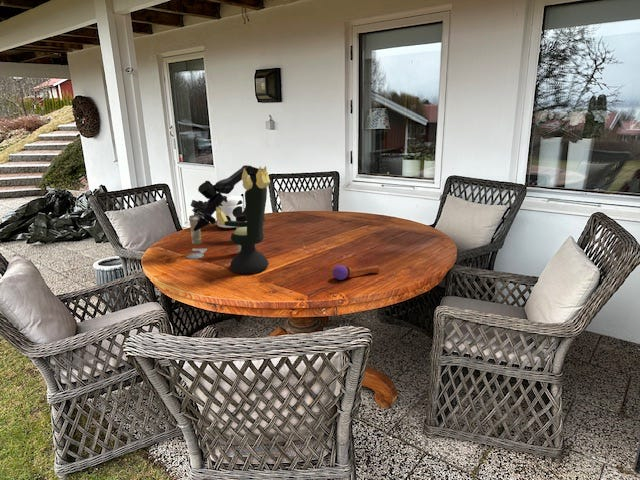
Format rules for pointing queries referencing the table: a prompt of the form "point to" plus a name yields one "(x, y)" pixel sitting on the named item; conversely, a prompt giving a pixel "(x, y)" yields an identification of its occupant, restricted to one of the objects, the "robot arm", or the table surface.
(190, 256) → the coaster
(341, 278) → the kendama
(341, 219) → the table surface
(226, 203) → the milk container
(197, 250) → the bent rod
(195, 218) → the ringed post
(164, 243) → the table surface
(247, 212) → the candelabra
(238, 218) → the travel mug
